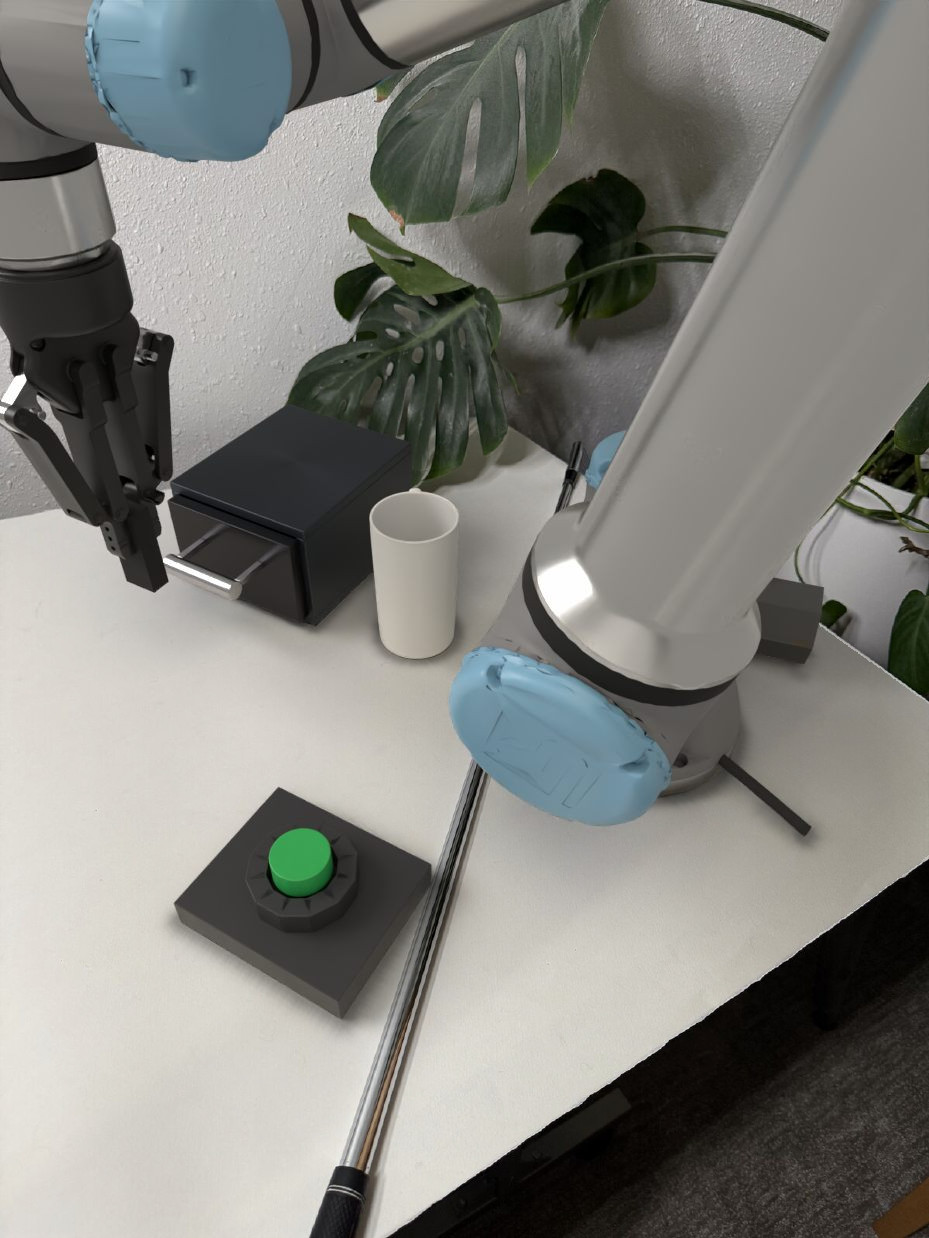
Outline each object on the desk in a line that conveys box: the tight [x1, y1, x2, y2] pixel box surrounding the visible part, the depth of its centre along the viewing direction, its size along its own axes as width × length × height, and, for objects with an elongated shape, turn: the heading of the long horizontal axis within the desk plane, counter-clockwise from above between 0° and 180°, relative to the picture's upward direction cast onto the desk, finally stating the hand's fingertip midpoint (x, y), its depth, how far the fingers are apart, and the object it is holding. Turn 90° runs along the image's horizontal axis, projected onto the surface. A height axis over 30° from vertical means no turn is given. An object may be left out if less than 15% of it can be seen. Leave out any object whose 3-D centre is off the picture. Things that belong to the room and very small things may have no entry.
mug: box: [370, 487, 460, 660], centre depth 71 cm, size 10×7×12 cm, turn 2°
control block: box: [173, 786, 433, 1020], centre depth 54 cm, size 12×10×4 cm
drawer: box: [163, 494, 308, 624], centre depth 76 cm, size 19×13×8 cm, turn 151°
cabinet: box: [169, 403, 414, 627], centre depth 79 cm, size 16×14×10 cm
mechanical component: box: [754, 577, 825, 665], centre depth 73 cm, size 10×18×10 cm
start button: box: [269, 828, 333, 897], centre depth 52 cm, size 4×4×2 cm
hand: (147, 581), depth 64 cm, fingers closed
